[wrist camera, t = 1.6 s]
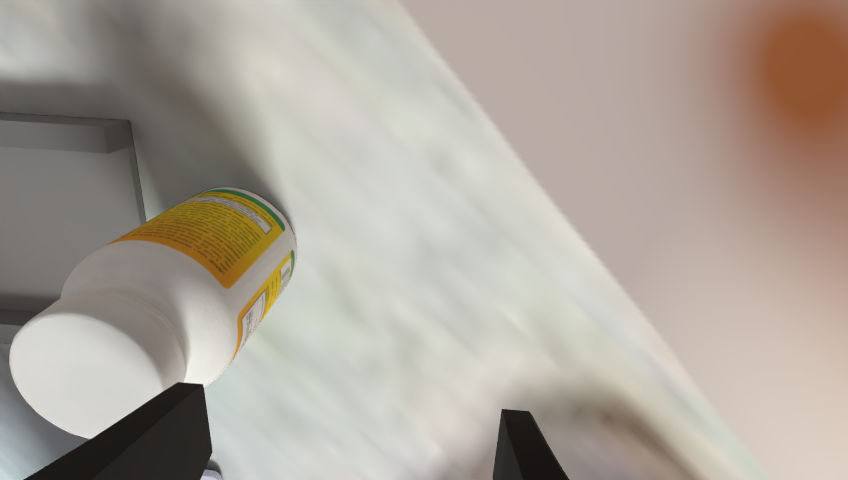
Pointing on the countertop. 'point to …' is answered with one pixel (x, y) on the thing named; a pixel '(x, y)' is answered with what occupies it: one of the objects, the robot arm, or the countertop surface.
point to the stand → (59, 204)
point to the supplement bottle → (155, 310)
